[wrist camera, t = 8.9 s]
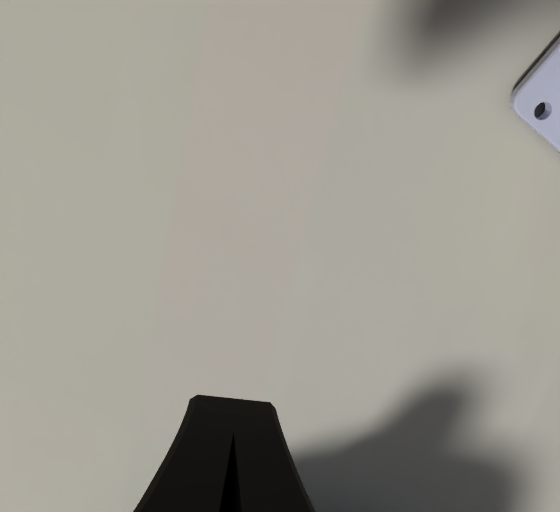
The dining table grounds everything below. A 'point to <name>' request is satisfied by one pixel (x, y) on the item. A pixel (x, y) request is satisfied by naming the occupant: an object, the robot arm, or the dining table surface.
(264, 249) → the dining table surface
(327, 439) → the dining table surface
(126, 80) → the dining table surface
